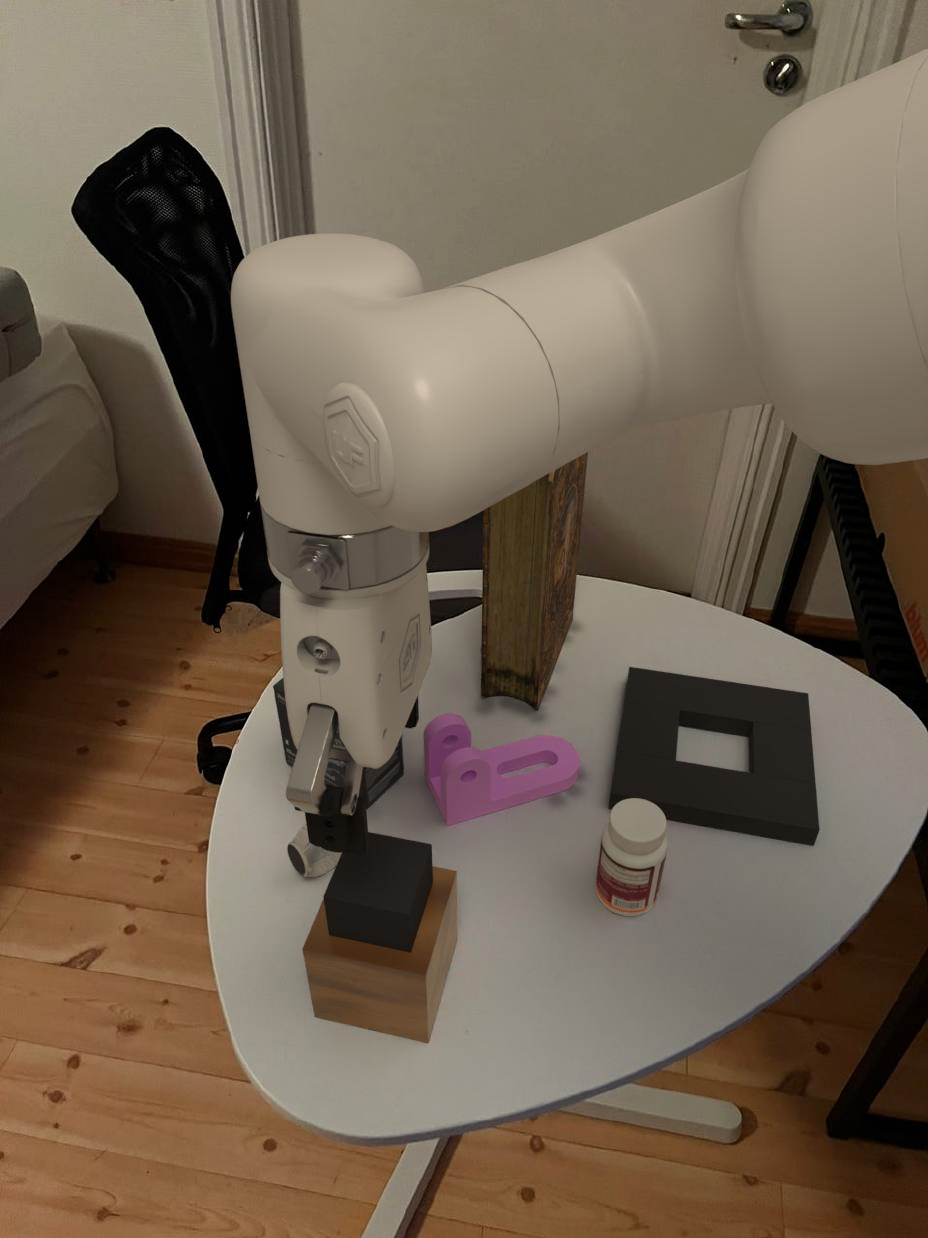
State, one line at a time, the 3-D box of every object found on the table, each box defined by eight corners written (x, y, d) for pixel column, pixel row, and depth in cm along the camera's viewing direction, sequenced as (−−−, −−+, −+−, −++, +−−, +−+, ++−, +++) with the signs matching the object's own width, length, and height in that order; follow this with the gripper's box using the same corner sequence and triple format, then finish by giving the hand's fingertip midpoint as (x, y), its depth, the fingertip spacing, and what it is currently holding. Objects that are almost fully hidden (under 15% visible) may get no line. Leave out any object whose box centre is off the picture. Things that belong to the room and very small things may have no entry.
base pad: (813, 846, 74) (819, 829, 73) (608, 809, 77) (610, 793, 76) (803, 709, 87) (808, 693, 86) (627, 682, 90) (629, 666, 89)
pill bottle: (623, 856, 74) (635, 783, 69) (670, 894, 71) (686, 822, 66) (581, 888, 71) (590, 815, 66) (628, 930, 68) (641, 857, 63)
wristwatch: (289, 871, 73) (281, 829, 69) (342, 838, 75) (337, 796, 72) (309, 895, 71) (302, 853, 68) (363, 860, 73) (359, 818, 70)
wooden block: (428, 1044, 62) (425, 976, 57) (314, 1017, 63) (301, 949, 58) (457, 939, 68) (456, 870, 63) (352, 918, 69) (344, 848, 64)
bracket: (447, 826, 76) (446, 766, 72) (424, 778, 80) (422, 719, 76) (589, 783, 80) (596, 724, 76) (561, 739, 84) (566, 681, 80)
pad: (411, 953, 58) (408, 914, 55) (328, 935, 59) (322, 896, 56) (433, 882, 62) (431, 843, 60) (356, 867, 63) (351, 828, 61)
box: (283, 765, 81) (269, 684, 76) (326, 729, 85) (316, 648, 79) (364, 814, 77) (356, 731, 71) (406, 773, 81) (402, 692, 75)
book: (525, 603, 100) (536, 383, 85) (575, 613, 99) (595, 391, 84) (480, 702, 88) (484, 465, 72) (536, 715, 86) (552, 476, 71)
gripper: (366, 657, 36) (386, 921, 46) (469, 449, 49) (466, 691, 59) (185, 627, 37) (244, 891, 47) (333, 433, 50) (354, 672, 61)
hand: (367, 779), depth 53 cm, fingers open, 9 cm apart
